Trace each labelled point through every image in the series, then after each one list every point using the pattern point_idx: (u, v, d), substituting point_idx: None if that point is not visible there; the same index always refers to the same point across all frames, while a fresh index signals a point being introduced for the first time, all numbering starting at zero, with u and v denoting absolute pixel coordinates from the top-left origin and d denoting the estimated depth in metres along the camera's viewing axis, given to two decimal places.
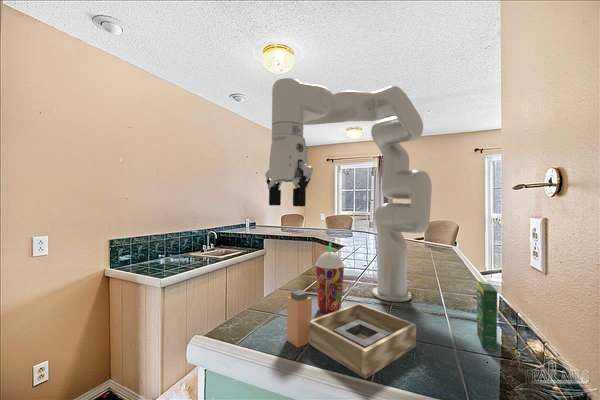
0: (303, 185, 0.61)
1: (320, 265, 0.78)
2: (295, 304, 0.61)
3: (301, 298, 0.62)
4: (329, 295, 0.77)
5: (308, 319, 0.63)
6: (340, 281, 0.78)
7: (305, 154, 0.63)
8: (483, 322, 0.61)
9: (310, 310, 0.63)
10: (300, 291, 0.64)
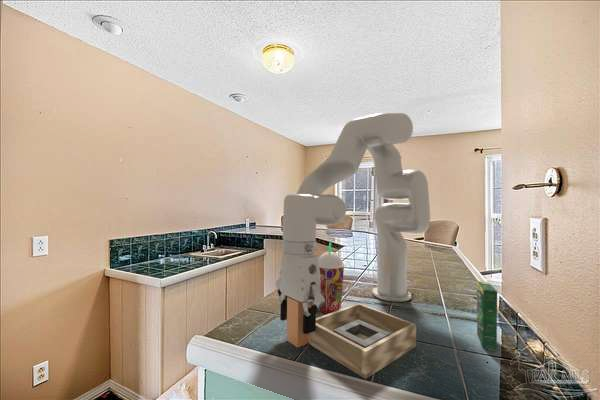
0: (314, 313, 0.58)
1: (320, 265, 0.78)
2: (295, 304, 0.61)
3: None
4: (329, 295, 0.77)
5: None
6: (340, 281, 0.78)
7: (318, 274, 0.60)
8: (483, 322, 0.61)
9: None
10: None
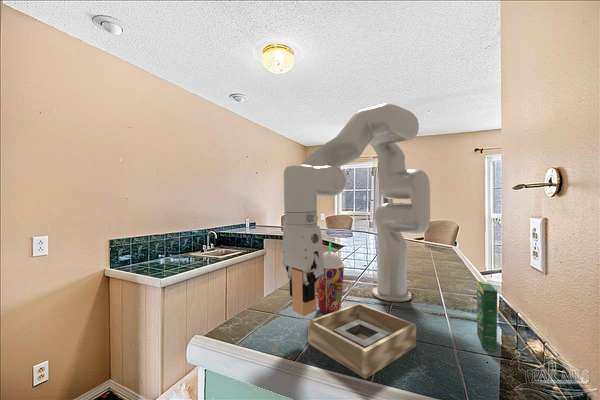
0: (312, 282, 0.61)
1: None
2: (299, 274, 0.62)
3: None
4: (329, 295, 0.77)
5: None
6: (340, 281, 0.78)
7: (320, 243, 0.61)
8: (483, 322, 0.61)
9: None
10: None
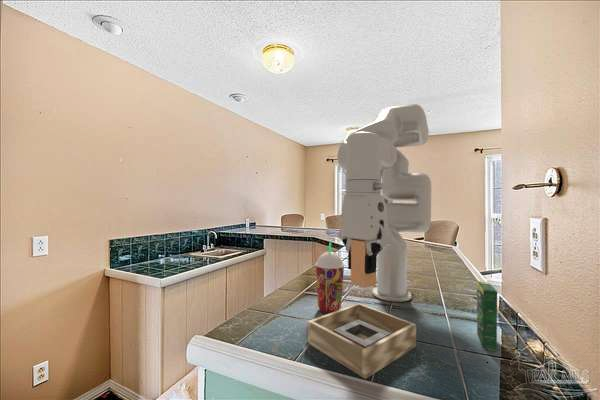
0: (376, 252, 0.59)
1: (320, 265, 0.78)
2: (361, 244, 0.60)
3: None
4: (329, 295, 0.77)
5: None
6: (340, 281, 0.78)
7: (385, 213, 0.59)
8: (483, 322, 0.61)
9: None
10: None
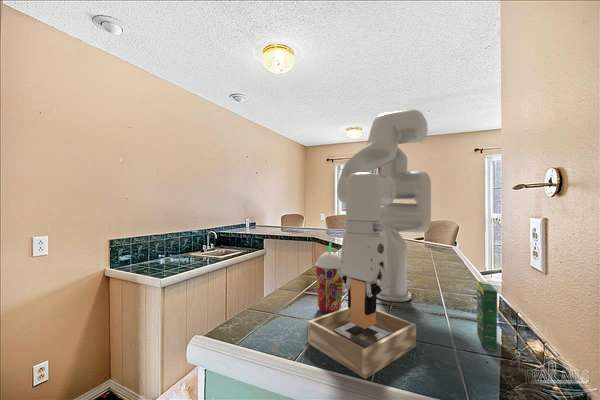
0: (376, 294, 0.59)
1: (320, 265, 0.78)
2: (361, 285, 0.60)
3: None
4: (329, 295, 0.77)
5: None
6: (340, 281, 0.78)
7: (385, 254, 0.59)
8: (483, 322, 0.61)
9: None
10: None
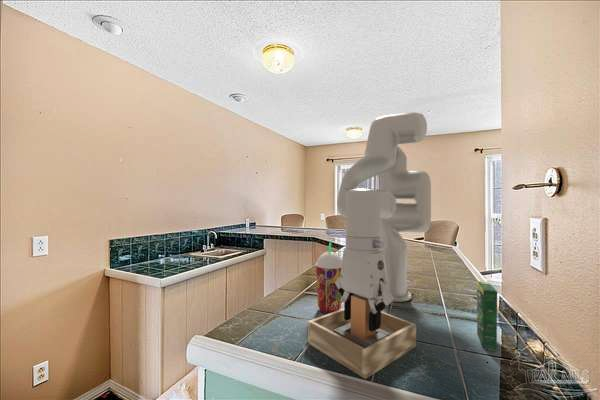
0: (380, 310, 0.58)
1: (320, 265, 0.78)
2: (362, 303, 0.60)
3: None
4: (329, 295, 0.77)
5: None
6: None
7: (385, 270, 0.59)
8: (483, 322, 0.61)
9: None
10: None
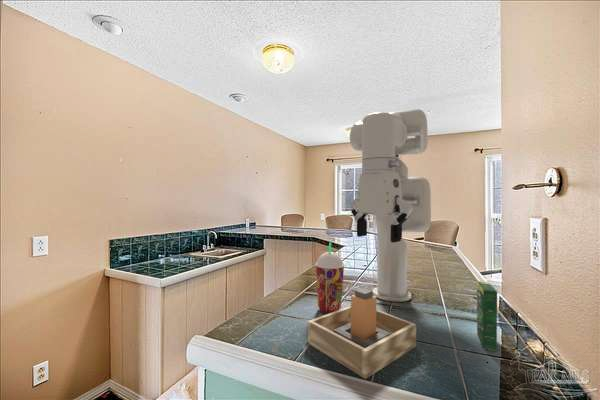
0: (402, 222, 0.61)
1: (320, 265, 0.78)
2: (362, 303, 0.60)
3: (367, 297, 0.61)
4: (329, 295, 0.77)
5: (373, 318, 0.62)
6: (340, 281, 0.78)
7: (400, 189, 0.63)
8: (483, 322, 0.61)
9: (375, 309, 0.62)
10: (364, 289, 0.63)
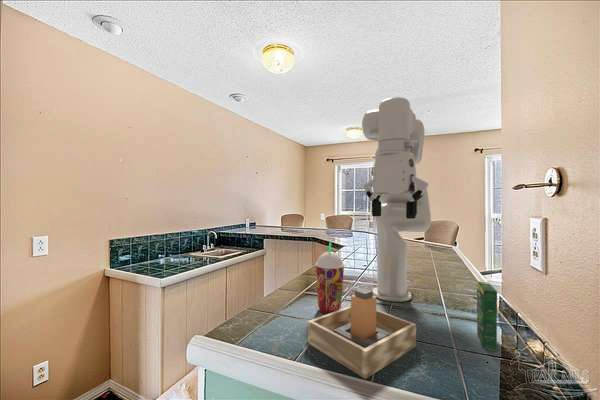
0: (417, 199, 0.64)
1: (320, 265, 0.78)
2: (362, 303, 0.60)
3: (367, 297, 0.61)
4: (329, 295, 0.77)
5: (373, 318, 0.62)
6: (340, 281, 0.78)
7: (415, 169, 0.67)
8: (483, 322, 0.61)
9: (375, 309, 0.62)
10: (364, 289, 0.63)
